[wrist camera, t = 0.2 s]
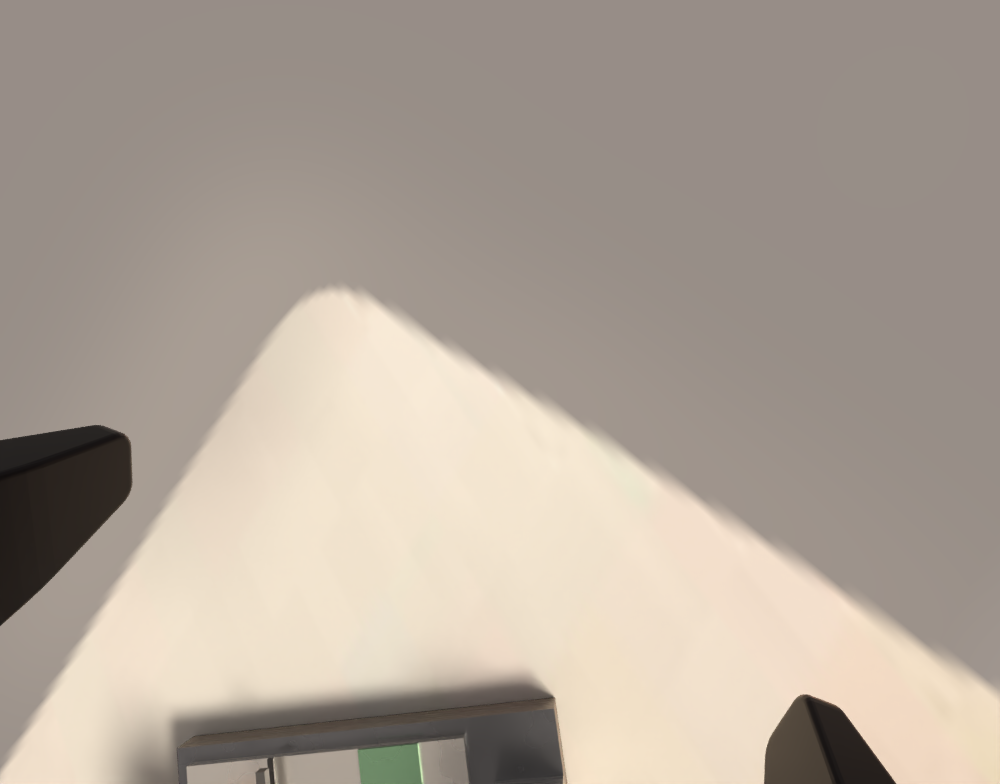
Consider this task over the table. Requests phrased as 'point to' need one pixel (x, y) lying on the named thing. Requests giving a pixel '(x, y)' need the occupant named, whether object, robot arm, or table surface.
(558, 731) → the frame
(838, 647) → the table surface
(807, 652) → the table surface
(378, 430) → the table surface
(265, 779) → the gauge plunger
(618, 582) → the table surface
